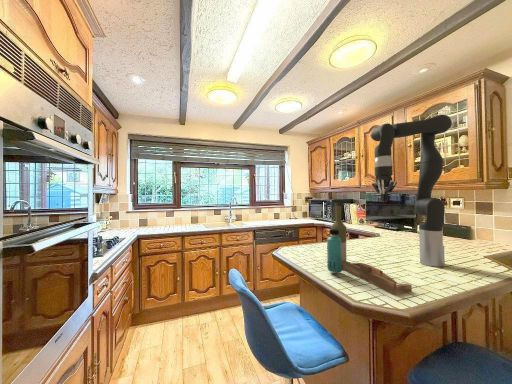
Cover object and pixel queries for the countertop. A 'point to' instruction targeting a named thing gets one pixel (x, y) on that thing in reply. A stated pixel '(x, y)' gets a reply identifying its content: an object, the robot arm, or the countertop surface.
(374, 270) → the sunglasses case
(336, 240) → the beverage bottle
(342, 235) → the bottle
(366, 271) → the display cradle
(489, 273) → the countertop surface
